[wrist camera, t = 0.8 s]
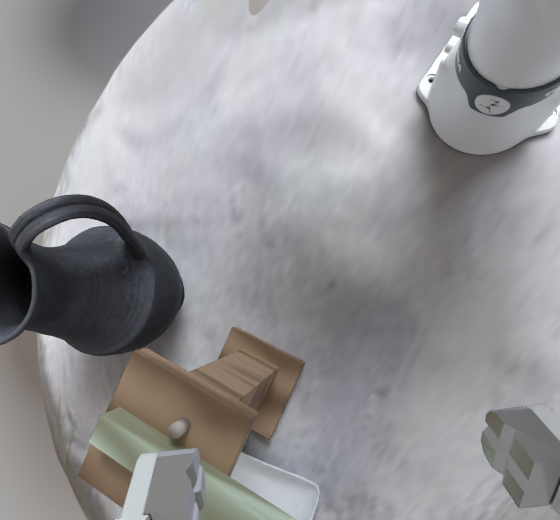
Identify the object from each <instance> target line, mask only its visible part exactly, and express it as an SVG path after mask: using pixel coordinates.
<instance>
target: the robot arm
mask: <svg viewBox="0 0 560 520" xmlns="http://www.w3.org/2000/svg"><path fill="white" fill-rule="evenodd" d="M452 35H453V36H452V37H451V39H450V40H449V42H448V43H447V45H446V46H445V47H444V49H443V50H442V52H441V53H440V55H439V56H438V57H437V59H436V60H435V62H434V63H433V65H432V66H431V67H430V69H429V70H428V72H427V73H426V75H425V76H424V77H423V79H422V80H421V82H420V83H419V85H418V88H417V93H418V95H419V97H420V98H421V100H422V101H423V102H424V103H425V105H426V106H427V108H428V112H429V116H430V121H431V124H432V126H433V128H434V130H435V132H436V133H437V135H438V136H439V137H440V138H441V139H442V140H443V141H444V142H445V143H447V144H448V145H449V146H451V147H453V148H455V149H457V150H459V151H462V152H465V153H469V154H477V155H486V154H493V153H498V152H501V151H504V150H507V149H509V148H511V147H513V146H515V145H516V144H518V143H519V142H521V141H523V140H524V139H526V138H528V137H531V136H536V135H541V134H544V133H547V132H549V131H551V130H552V129H553V128H554V127H555V126H556V124H557V122H558V118H559V113H560V0H480V2H479V3H477V4H475V5H474V6H473V8H472V9H471V10H470V12H469V13H468V15H467V16H466V17H464V16H463V17H461V18H460V19H459V21H458V22H457V24H456V26H455V28H454V30H453V33H452ZM429 80H433V82H432V83H430V82H429ZM485 421H486V422H487V424H488V425H489V426H488V427H487V428H486V429H485V430H484V431H483V432H482V437H481V443H482V448H483V452H484V454H485V456H486V458H487V460H488V462H489V463H490V465H491V467H492V468H494V469H495V470H497V471H498V472H500V473H501V474H503V480H502V484H503V485H504V487H505V488H506V490H507V491H508V493H509V494H510V496H511V497H512V499H513V500H514V502H515V504H516V505H517V507H518V508H528V507H538V506H547V505H551V508H553V509H554V510H555V511H556V512H558V513H559V514H560V418H559V417H558V416H557V415H556V414H555V413H554V412H553V411H552V410H551V409H550V408H549V407H547V406H546V405H544V404H540V405H532V406H525V407H523V406H521V407H514V408H507V409H500V410H493V411H489V412H488V413H487V415H486V419H485ZM199 462H200V454H199V450H198V448H193V449H182V450H172V451H162V452H153V453H144V454H141V455H140V456H139V458H138V459H137V462H136V465H135V469H134V472H133V475H132V479H131V482H130V486H129V489H128V492H127V496H126V499H125V503H124V506H123V509H122V513H121V516H120V518H118V519H114V520H201V516H200V511H201V509H202V508H203V506H204V503H205V474H204V469H203V467H202V466H201V465H199Z"/></svg>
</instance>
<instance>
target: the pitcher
mask: <svg viewBox="0 0 560 520" xmlns="http://www.w3.org/2000/svg"><path fill="white" fill-rule="evenodd" d="M77 218H90V219H94V220H99V221H101V222H104V223H106V224H108V225H109V226H99V227H93V228H90V229H88V230H86V231H84V232H82V233H80V234H78V235H77V236H75V237H74V238H72V239H71V240H70V241H69V242H68V243H67V244H66V245H62V246H58V247H43V246H39V245H37V244H35V243H32V241H33V240H34V239H35V237H36V236H37V235H39V234H40V233H41V232H43V231H45V230H47V229H49V228H51V227H53V226H55V225H57V224H59V223H61V222H64V221H67V220H70V219H77ZM183 299H184V286H183V282H182V279H181V277H180V274H179V271H178V269H177V267H176V265H175V263H174V262H173V260H172V259H171V257H170V256H169V255H168V254H167V253H166V252H165V251H164V250H163V249H162V248H161V247H160V246H159V245H158V244H157V243H155V242H154V241H153V240H151V239H150V238H148V237H146V236H144V235H143V234H140V233H138V232H136V231H133V230H132V229H131V228H130V226H129V225H128V223H127V222H126V220H125V219H124V217H123V216H122V215H121V214H120V213H119V212H118V211H117V210H116V209H115V208H114V207H113V206H111V205H110V204H108V203H107V202H105V201H103V200H101V199H98V198H95V197H92V196H88V195H80V194H78V195H64V196H59V197H55V198H52V199H48V200H46V201H44V202H42V203H40V204H38V205H36V206H34V207H32V208H31V209H29V210H28V211H26V212H24V213H23V214H22V215H21V216H20V217H19V218H18V219H17V221H16V222H15V223H14V224H13V225H12V227H11V228H10V227H8V226H6V225H4V224H1V223H0V345H2V344H5V343H7V342H9V341H11V340H13V339H15V338H16V337H17V336H19V335H20V334H21V333H22V332H23V331H24V330H29V331H34V332H37V333H41V334H44V335H49V336H54V337H57V338H60V339H63V340H65V341H66V342H67V343H68V344H69V345H71V346H72V347H74V348H75V349H77V350H79V351H80V352H83V353H86V354H89V355H95V356H106V355H115V354H121V353H125V352H130V351H133V350H136V349H139V348H141V347H144V346H146V345H147V344H149V343H151V342H152V341H154V340H155V339H157V338H158V337H159V336H160V335H161V334H163V333H164V332H165V331H166V329H167V328H168V327H169V326H170V324H171V323H172V321H173V320H174V318H175V316H176V314H177V312H178V310H179V309H180V307H181V305H182V303H183Z"/></svg>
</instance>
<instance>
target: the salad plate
mask: <svg viewBox="0 0 560 520" xmlns="http://www.w3.org/2000/svg"><path fill="white" fill-rule="evenodd" d="M230 477H231V478H232V479H234V480H236V481H237V482H239V483H240V484H242V485H243V486H245V487H247V488H248V489H250V490H251V491H253V492H254V493H256V494H257V495H259V496H261V497H262V498H264V499H265V500H267V501H268V502H270V503H272V504H273V505H275V506H276V507H278V508H279V509H281V510H282V511H284V512H286V513H287V514H289V515H290V516H292V517H293V518H295V519H297V520H313V517H314V514H315V511H316V508H317V505H318V501H319V496H320V489H319V487H318V485H317V484H316V483H315V482H313V481H311V480H309V479H306V478H304V477H302V476H299V475H296V474H294V473H291V472H289V471H286V470H283V469H281V468H278V467H276V466H273V465H271V464H268V463H266V462H263V461H261V460H259V459H256V458H254V457H252V456H249V455H247V454H245V453H243V452H241V454H240V456H239V458H238V460H237V463H236V465H235V467H234V469H233V471H232V474H231V476H230Z"/></svg>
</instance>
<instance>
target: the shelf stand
mask: <svg viewBox="0 0 560 520" xmlns="http://www.w3.org/2000/svg"><path fill="white" fill-rule="evenodd" d="M304 363H305V362H303V361H301V360H299V359H297V358H295V357H293V356H292V355H290V354H288V353H286V352H284V351H282V350H280V349H278V348H276V347H274V346H272V345H270V344H268V343H266V342H265V341H263V340H261V339H259V338H257V337H255V336H253V335H251V334H249V333H247V332H245V331H243V330H241V329H239V328H238V327H232V329H231V332H230V334H229V336H228V338H227V341H226V343H225V345H224V347H223V349H222V352H221V354H220V356H219V358H218V360H216V361H214V362H211V363H209V364H207V365H204V366H202V367H200V368H197V369H195V370H193V371H190V372H188V371H186V370H184V369H183V368H181V367H179V366H177V365H176V364H174V363H172V362H170V361H169V360H167V359H165V358H163V357H162V356H160V355H158V354H156V353H155V352H153V351H151V350H150V349H148V348H144V349H140V350H135V351H133V353H132V355H131V357H130V360H129V362H128V364H127V366H126V369H125V371H124V373H123V375H122V378H121V380H120V382H119V384H118V387H117V389H116V391H115V393H114V396H113V398H112V400H111V402H110V404H109V407H108V409H107V411H106V413H107V412H109V411H111V410H113V409H116V408H118V407H122V408H123V409H125V410H126V411H128V412H129V413H131V414H132V415H134V416H136V417H137V418H139V419H140V420H142V421H143V422H145V423H147V424H148V425H150V426H151V427H153V428H154V429H156V430H157V431H159V432H161V433H162V434H164V435H165V436H167V437H168V438H170V439H172V440H173V441H175V442H176V443H178V444H179V445H181V446H182V447H184V448H186V449H193V448H198V450H199V454H200V458H201V459H203V460H204V461H206V462H207V463H209V464H211V465H212V466H214V467H215V468H217V469H218V470H220V471H222V472H223V473H225V474H226V475H228V476H229V477H230V476H231V474H232V471H233V469H234V467H235V465H236V463H237V460H238V458H239V456H240V454H241V451H242V449H243V447H244V445H245V443H246V440H247V438H248V436H249V434H250V431H251V429H252V430H253V431H255V432H257V433H258V434H260V435H262V436H264V437H265V438H267V439H270V438H271V437H272V435H273V432H274V430H275V428H276V426H277V423H278V421H279V419H280V417H281V415H282V412H283V410H284V408H285V406H286V403H287V401H288V399H289V397H290V395H291V392H292V390H293V388H294V386H295V383H296V381H297V379H298V377H299V374H300V372H301V370H302V368H303V366H304ZM132 475H133V473H132V472H131V471H129V470H128V469H127V468H125V467H124V466H122V465H121V464H119V463H118V462H116V461H115V460H114V459H112V458H111V457H109V456H108V455H106V454H105V453H103V452H102V451H100V450H99V449H98V448H96V447H95V446H93V445H91V447H90V449H89V452H88V454H87V456H86V458H85V461H84V463H83V465H82V467H81V470H80V472H79V474H78V476H79V477H81V478H82V479H84V480H85V481H86V482H88V483H89V484H90V485H92V486H93V487H95V488H96V489H97V490H99V491H100V492H101V493H103V494H104V495H106V496H107V497H108V498H110V499H111V500H112V501H114V502H115V503H117V504H118V505H119V506H121V507H122V508H123V506H124V503H125V499H126V496H127V492H128V489H129V486H130V482H131V479H132Z"/></svg>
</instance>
